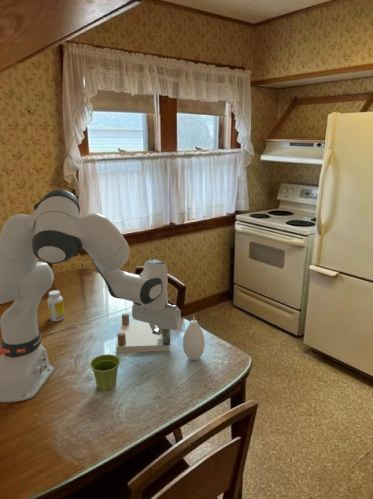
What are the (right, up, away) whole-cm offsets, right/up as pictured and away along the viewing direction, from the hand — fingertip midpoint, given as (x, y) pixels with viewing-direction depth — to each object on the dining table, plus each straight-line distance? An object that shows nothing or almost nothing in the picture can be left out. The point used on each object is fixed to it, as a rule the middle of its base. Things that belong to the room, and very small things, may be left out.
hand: (156, 334), depth 141 cm
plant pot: (-15, -12, -20) cm, 28 cm away
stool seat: (-6, -4, +9) cm, 11 cm away
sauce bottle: (+14, -8, -5) cm, 17 cm away
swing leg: (+3, -2, +4) cm, 6 cm away
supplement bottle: (-47, +1, +25) cm, 53 cm away
